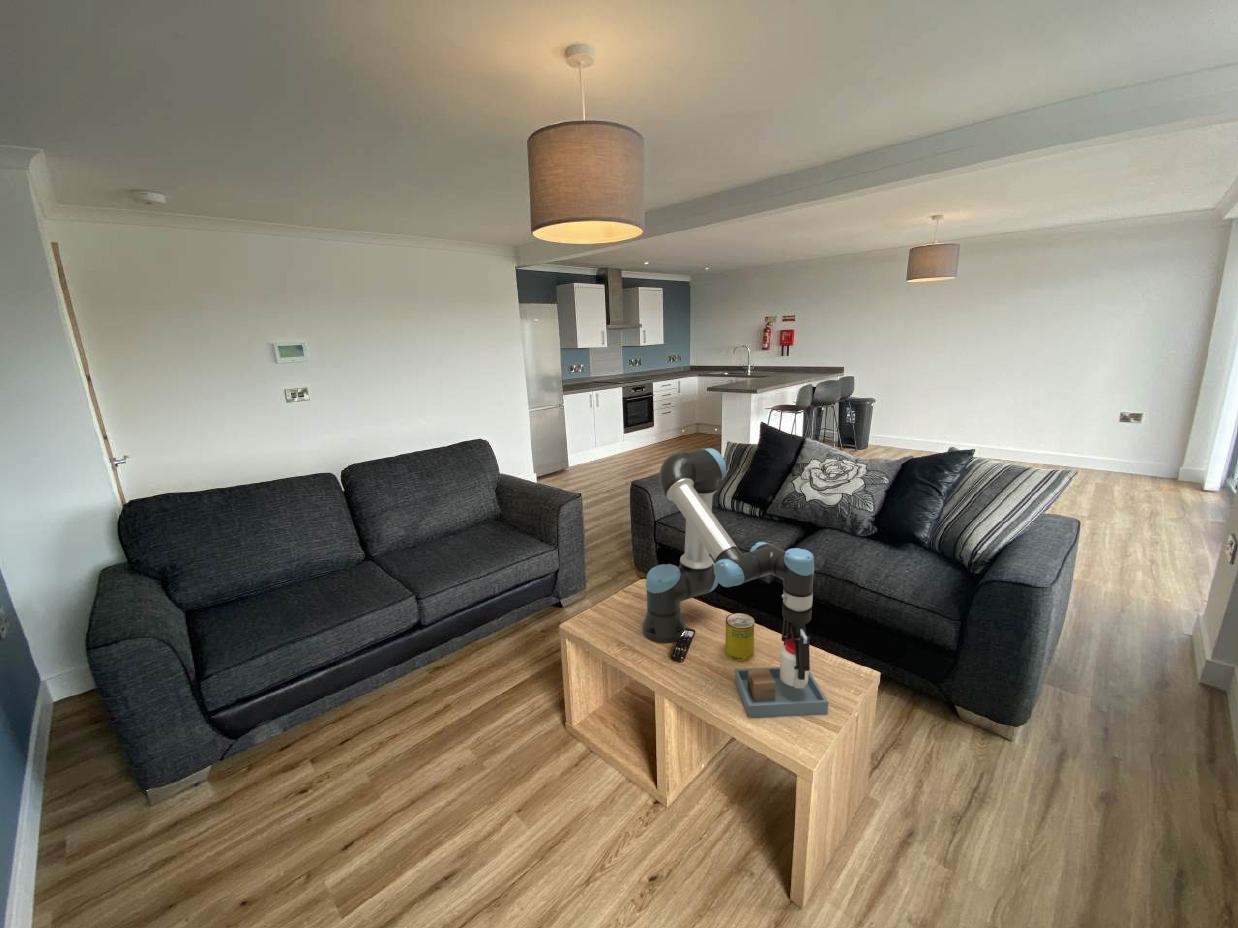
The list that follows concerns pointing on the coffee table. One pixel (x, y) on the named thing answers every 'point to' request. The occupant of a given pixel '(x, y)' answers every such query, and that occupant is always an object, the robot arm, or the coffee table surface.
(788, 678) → the pill bottle
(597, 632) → the coffee table surface
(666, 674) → the coffee table surface
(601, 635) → the coffee table surface
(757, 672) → the walnut cube
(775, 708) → the blue-grey tray
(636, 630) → the coffee table surface
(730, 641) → the beverage can
